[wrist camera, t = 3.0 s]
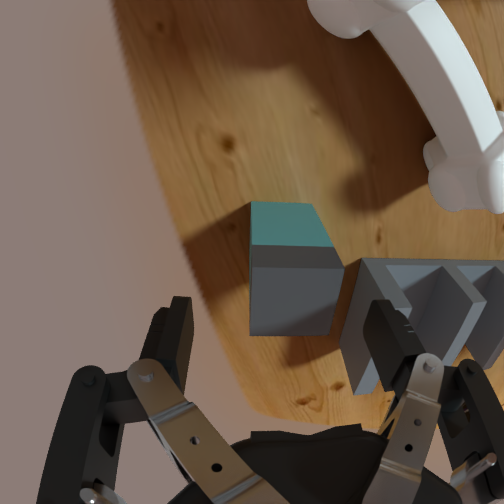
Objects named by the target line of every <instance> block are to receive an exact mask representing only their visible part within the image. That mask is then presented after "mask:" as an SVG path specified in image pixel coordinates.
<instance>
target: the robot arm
mask: <svg viewBox="0 0 504 504" xmlns="http://www.w3.org/2000/svg"><path fill="white" fill-rule="evenodd" d="M193 336H194V321H193V311H192V300H191V297H181V296H174V297H173V299H172V302H171V306H170V308H167V307H166V308H165V307H162V308H160V309H159V310H158V311H157V312H156V313H155V314H154V316H153V319H152V322H151V325H150V328H149V332H148V334H147V337H146V340H145V342H144V346H143V349H142V352H141V355H140V358H139V360H138V361H135V362H134V363H133V364H131V365H130V367H129V368H128V370H126V371H123V372H117V373H110V374H105V373H104V371H103V370H102V369H101V368H99V367H97V366H92V365H91V366H90V365H89V366H84V367H82V368H80V369H79V370H77V371H76V372H75V373H74V375H73V377H72V380H71V383H70V385H69V388H68V391H67V393H66V396H65V399H64V402H63V405H62V408H61V411H60V414H59V417H58V420H57V423H56V427H55V430H54V433H53V437H52V440H51V443H50V447H49V451H48V454H47V458H46V462H45V466H44V470H43V474H42V478H41V483H40V488H39V492H38V497H37V502H36V504H127V503H126V502H125V500H124V499H123V498H121V497H120V496H119V495H118V494H116V493H115V492H114V489H115V481H116V474H117V467H118V460H119V454H120V447H121V442H122V436H123V430H124V425H125V423H133V422H140V421H147V423H148V424H149V426H150V428H151V429H152V431H153V432H154V434H155V436H156V437H157V439H158V440H159V442H160V443H161V445H162V447H163V448H164V450H165V451H166V453H167V454H168V456H169V458H170V459H171V461H172V462H173V464H174V465H175V467H176V468H177V470H178V471H179V473H180V474H181V475H182V477H183V478H184V479H185V481H186V482H187V483H188V485H187V486H186V487H185V488H184V489H183V490H182V491H181V492H180V493H178V494H177V495H176V496H175V497H174V498H173V499H172V500H171V501H170V502H168V503H167V504H496V503H498V502H499V501H501V500H503V499H504V411H503V408H502V406H501V404H500V402H499V400H498V398H497V396H496V394H495V392H494V390H493V388H492V386H491V384H490V382H489V380H488V378H487V376H486V375H485V373H484V371H483V369H482V367H481V366H480V365H479V364H478V363H477V362H476V361H474V360H471V359H464V360H462V361H461V362H460V364H459V365H458V367H453V366H445V365H443V363H442V361H441V360H440V359H439V358H438V357H436V356H435V355H433V354H429V353H427V352H426V351H425V349H424V347H423V345H422V343H421V342H420V340H419V338H418V336H417V335H416V333H415V332H414V329H413V328H412V326H411V324H410V322H409V321H408V319H407V317H406V316H405V315H404V314H403V313H401V312H400V311H399V310H395V308H394V306H393V305H392V303H391V301H390V300H389V299H378V300H373V301H372V302H371V304H370V307H369V310H368V313H367V316H366V319H365V322H364V325H363V337H364V340H365V342H366V345H367V347H368V350H369V352H370V355H371V357H372V360H373V362H374V365H375V367H376V370H377V373H378V375H379V378H380V380H381V383H382V386H383V388H384V391H385V392H387V391H393V390H394V392H395V395H394V397H393V399H392V401H391V404H390V406H389V408H388V411H387V413H386V415H385V418H384V420H383V422H382V424H381V426H380V428H379V430H378V432H377V434H376V433H373V432H369V431H363V430H362V427H361V423H359V424H352V425H345V426H337V427H333V428H331V429H328V430H325V431H322V432H319V433H315V434H313V435H302V434H295V433H290V432H284V431H251V437H250V438H249V439H245V440H242V441H239V442H236V443H234V444H232V445H230V446H229V444H228V443H227V442H226V441H225V440H224V439H223V438H222V436H221V435H220V434H219V433H218V431H217V430H216V429H215V428H214V427H213V425H212V424H211V423H210V422H209V421H208V419H207V418H206V417H205V416H204V414H203V413H202V412H201V411H200V409H199V408H198V407H197V406H196V405H195V404H194V403H193V402H188V401H187V400H186V398H185V397H184V391H185V384H186V378H187V372H188V366H189V360H190V353H191V348H192V342H193ZM464 402H465V403H466V406H467V408H468V410H469V413H470V422H468V420H467V417H466V415H465V412H464V410H463V407H462V404H463V403H464ZM437 423H438V426H439V429H440V432H441V435H442V438H443V441H444V444H445V447H446V451H447V454H448V457H449V461H450V464H451V467H452V471H453V473H452V475H451V479H450V483H449V484H448V483H447V482H445V481H444V480H442V479H441V478H439V477H438V476H436V475H435V474H434V473H432V472H431V471H429V470H428V469H427V468H425V467H424V463H425V460H426V457H427V454H428V451H429V448H430V445H431V441H432V438H433V435H434V431H435V428H436V424H437Z"/></svg>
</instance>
